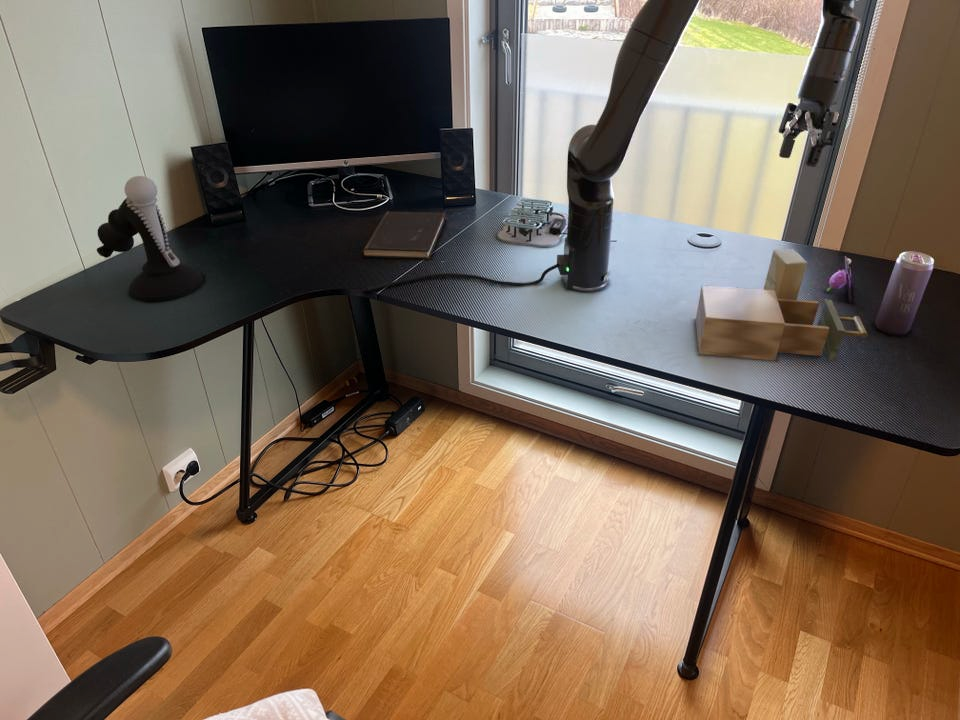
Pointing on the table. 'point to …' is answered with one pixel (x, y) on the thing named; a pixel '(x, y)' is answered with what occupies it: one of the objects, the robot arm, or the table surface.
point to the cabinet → (739, 322)
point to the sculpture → (147, 245)
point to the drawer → (814, 328)
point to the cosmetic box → (785, 273)
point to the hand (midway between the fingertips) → (796, 161)
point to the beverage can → (904, 292)
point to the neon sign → (534, 224)
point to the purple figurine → (841, 279)
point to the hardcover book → (405, 235)
